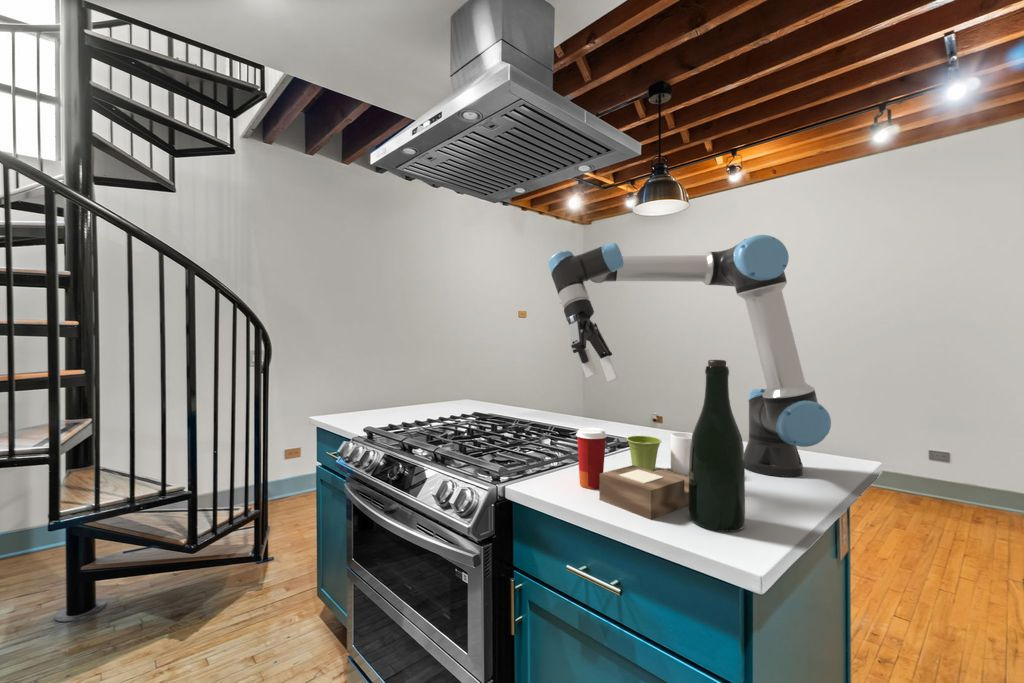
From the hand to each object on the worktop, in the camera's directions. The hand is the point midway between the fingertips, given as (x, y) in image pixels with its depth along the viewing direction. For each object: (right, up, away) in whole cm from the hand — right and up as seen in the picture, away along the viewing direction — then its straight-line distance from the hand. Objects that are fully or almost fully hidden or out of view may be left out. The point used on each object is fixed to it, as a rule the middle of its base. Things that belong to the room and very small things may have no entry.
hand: (602, 378), depth 112 cm
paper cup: (-3, -27, 0) cm, 28 cm away
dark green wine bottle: (+18, -28, -22) cm, 40 cm away
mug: (+26, -28, +10) cm, 39 cm away
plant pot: (+15, -27, +14) cm, 34 cm away
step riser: (+11, -27, -9) cm, 31 cm away
